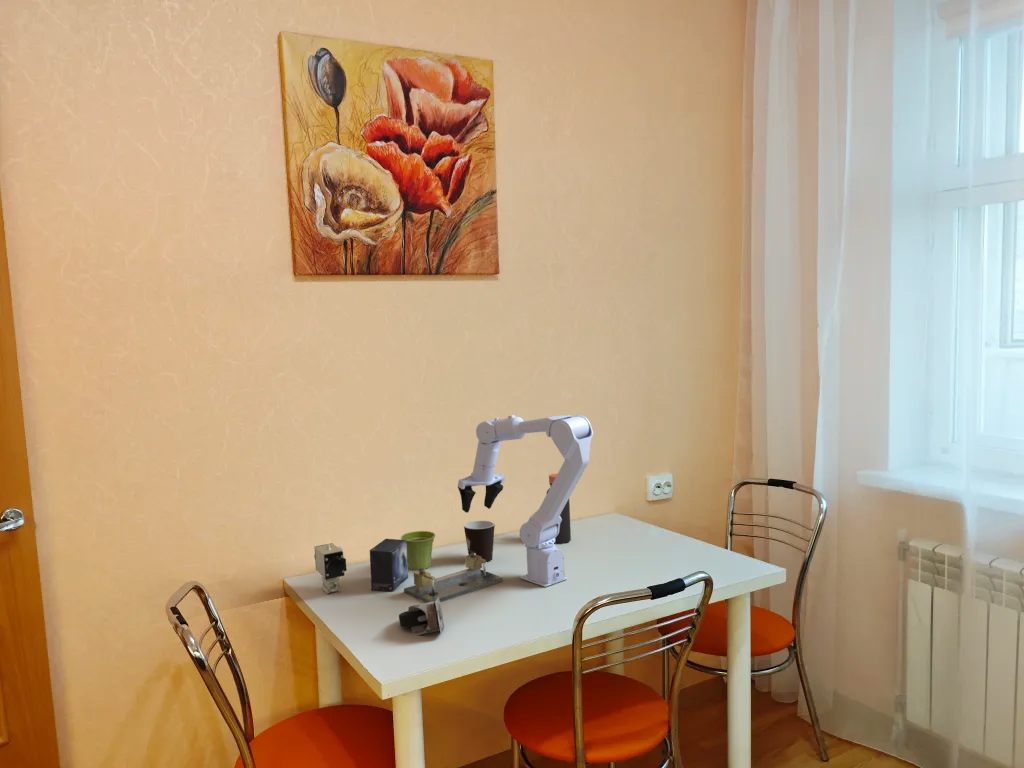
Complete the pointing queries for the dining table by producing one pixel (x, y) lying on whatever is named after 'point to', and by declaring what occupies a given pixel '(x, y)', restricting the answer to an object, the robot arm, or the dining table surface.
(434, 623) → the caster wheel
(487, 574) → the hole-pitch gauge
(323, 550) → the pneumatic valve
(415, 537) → the plant pot
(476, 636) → the dining table surface
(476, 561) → the sliding leg
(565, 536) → the bottle
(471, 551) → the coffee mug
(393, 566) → the small box
